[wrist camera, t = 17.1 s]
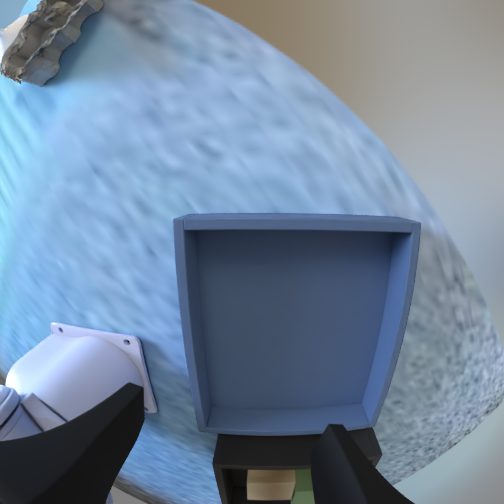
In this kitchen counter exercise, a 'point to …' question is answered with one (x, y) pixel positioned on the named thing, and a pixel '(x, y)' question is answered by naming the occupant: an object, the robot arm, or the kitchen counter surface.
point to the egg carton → (46, 39)
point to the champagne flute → (10, 34)
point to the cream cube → (270, 484)
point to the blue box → (292, 317)
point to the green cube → (303, 488)
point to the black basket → (271, 459)
